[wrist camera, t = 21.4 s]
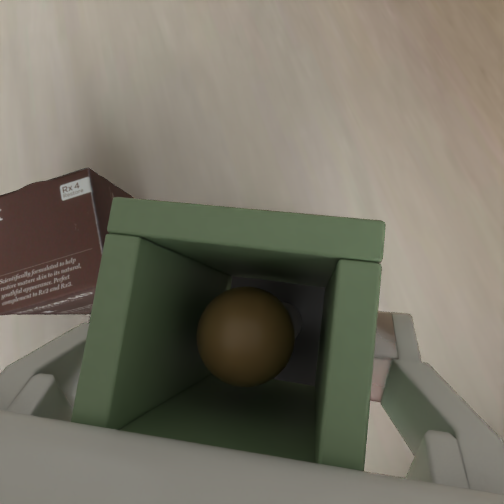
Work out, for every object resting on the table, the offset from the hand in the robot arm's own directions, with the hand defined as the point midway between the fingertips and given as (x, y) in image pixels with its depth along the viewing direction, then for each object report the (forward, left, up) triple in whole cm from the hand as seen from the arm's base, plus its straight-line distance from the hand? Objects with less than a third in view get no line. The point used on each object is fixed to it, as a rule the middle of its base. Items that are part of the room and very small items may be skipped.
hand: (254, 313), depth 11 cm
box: (+11, -2, -12) cm, 17 cm away
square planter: (0, +1, -5) cm, 5 cm away
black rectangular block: (0, +1, -12) cm, 12 cm away
